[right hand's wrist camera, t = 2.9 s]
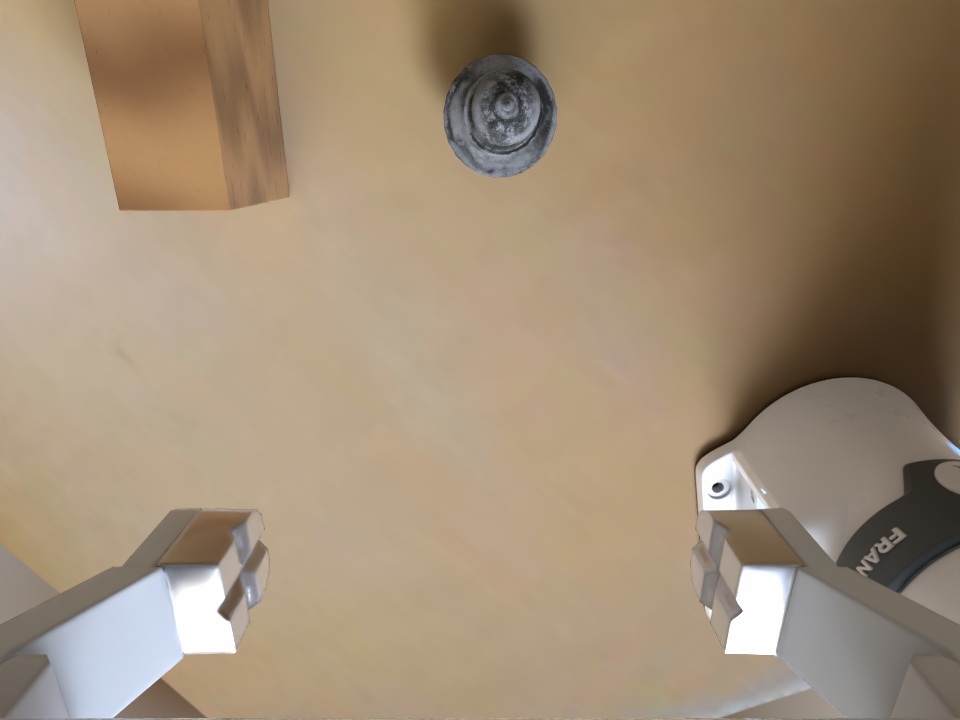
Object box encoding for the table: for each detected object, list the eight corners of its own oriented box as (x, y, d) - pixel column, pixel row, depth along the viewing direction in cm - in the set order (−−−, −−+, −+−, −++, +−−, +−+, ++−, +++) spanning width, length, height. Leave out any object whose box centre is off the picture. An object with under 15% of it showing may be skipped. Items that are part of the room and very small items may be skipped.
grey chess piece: (427, 133, 32) (399, 122, 21) (487, 40, 31) (492, -25, 19) (507, 195, 34) (521, 217, 22) (569, 109, 32) (619, 85, 21)
